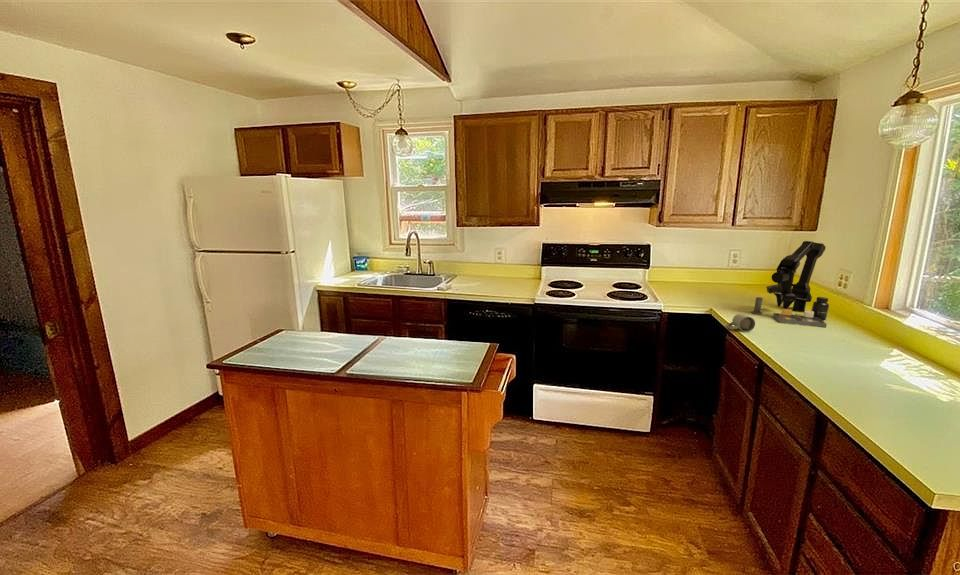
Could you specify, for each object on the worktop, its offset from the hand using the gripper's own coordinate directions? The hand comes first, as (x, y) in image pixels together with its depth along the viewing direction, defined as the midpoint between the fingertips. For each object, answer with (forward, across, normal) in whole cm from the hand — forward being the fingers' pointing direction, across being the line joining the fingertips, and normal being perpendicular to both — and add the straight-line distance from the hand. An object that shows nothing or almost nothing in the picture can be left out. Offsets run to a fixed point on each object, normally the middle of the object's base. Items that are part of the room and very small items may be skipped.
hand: (781, 308), depth 235 cm
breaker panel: (+4, +12, +5) cm, 13 cm away
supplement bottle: (+4, +2, +17) cm, 17 cm away
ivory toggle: (+2, +8, +10) cm, 13 cm away
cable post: (+4, +3, -12) cm, 13 cm away
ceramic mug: (+4, +38, -28) cm, 47 cm away
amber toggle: (+2, +8, 0) cm, 9 cm away
